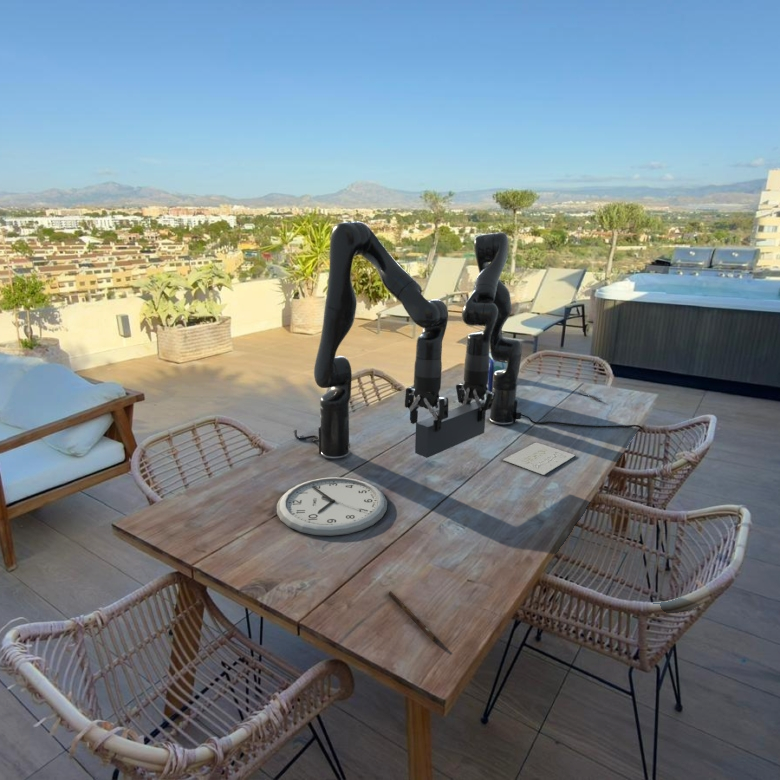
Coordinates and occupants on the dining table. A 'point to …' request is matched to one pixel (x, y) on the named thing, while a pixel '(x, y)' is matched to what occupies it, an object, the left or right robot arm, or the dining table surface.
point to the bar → (448, 430)
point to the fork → (589, 395)
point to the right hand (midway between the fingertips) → (473, 418)
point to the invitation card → (539, 458)
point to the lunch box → (492, 368)
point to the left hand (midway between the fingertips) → (425, 427)
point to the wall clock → (331, 506)
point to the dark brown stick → (412, 616)
